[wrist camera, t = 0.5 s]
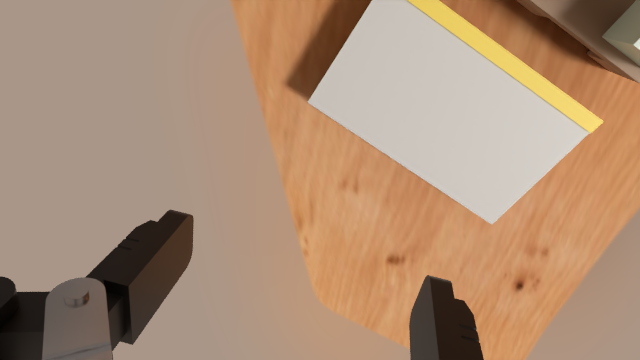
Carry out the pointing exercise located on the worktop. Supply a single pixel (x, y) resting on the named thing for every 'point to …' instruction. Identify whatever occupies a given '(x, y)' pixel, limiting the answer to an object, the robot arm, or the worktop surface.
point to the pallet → (590, 28)
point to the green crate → (627, 33)
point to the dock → (450, 104)
